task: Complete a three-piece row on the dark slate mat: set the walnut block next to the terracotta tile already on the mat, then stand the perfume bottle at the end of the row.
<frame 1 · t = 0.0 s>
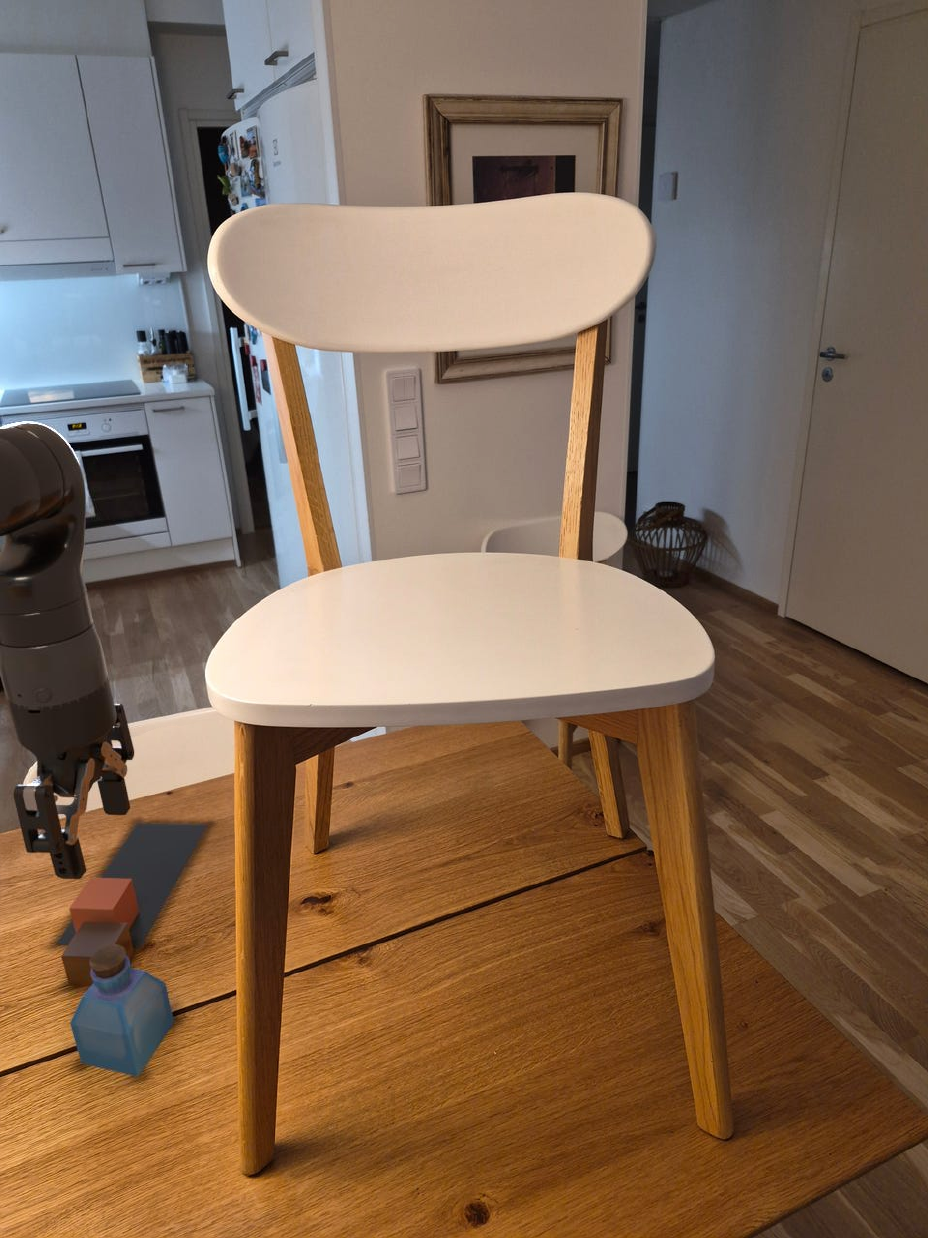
hand: (96, 843, 72), 25 cm above the table, tool pointing down, fingers open, 8 cm apart
walnut block: (103, 973, 90), on the table
mat: (139, 884, 103), on the table
perfume bottle: (130, 1049, 82), on the table
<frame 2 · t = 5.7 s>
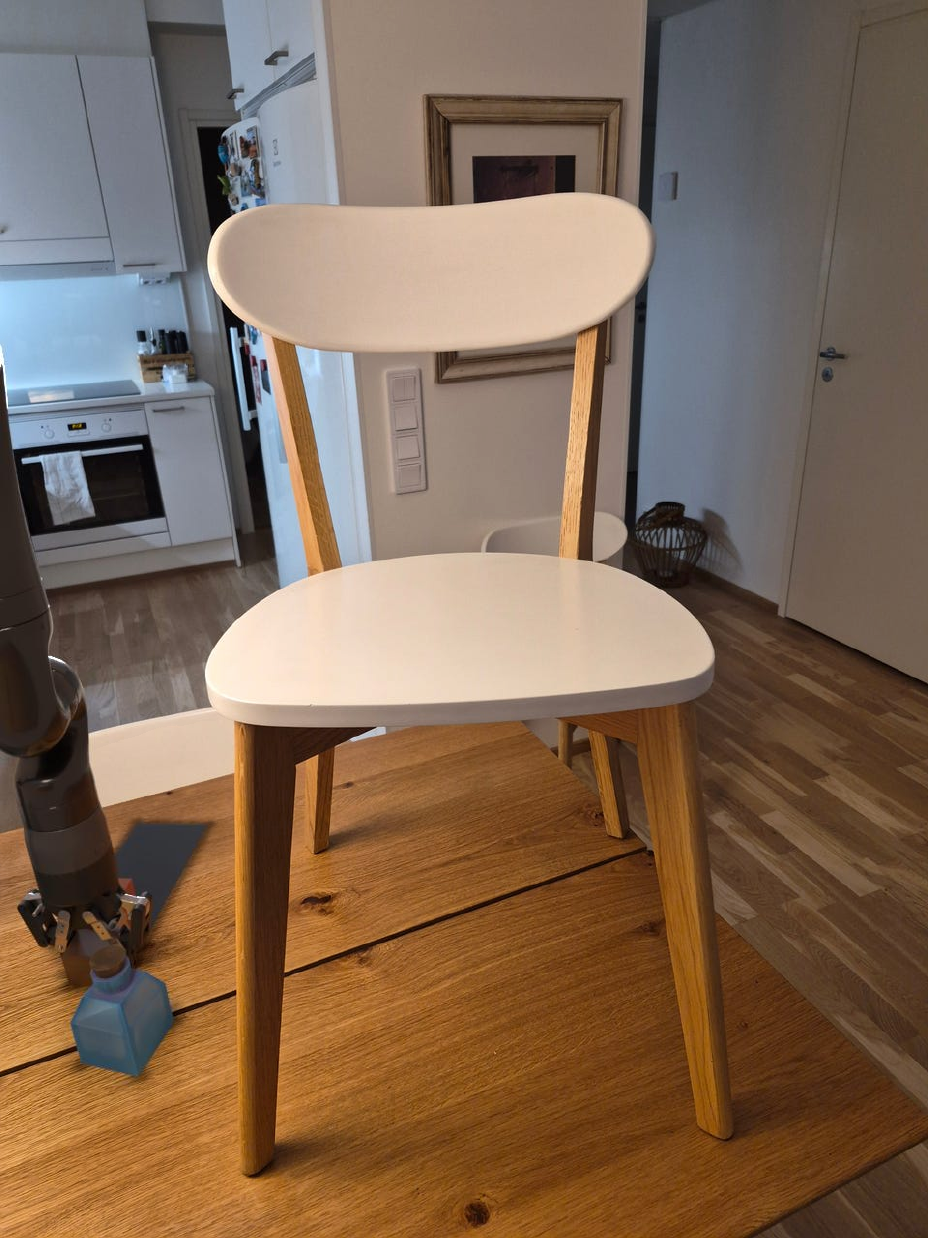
hand: (102, 970, 90), 0 cm above the table, tool pointing down, fingers closed on walnut block, 5 cm apart
walnut block: (103, 973, 90), on the table, touching gripper
everything else where it was.
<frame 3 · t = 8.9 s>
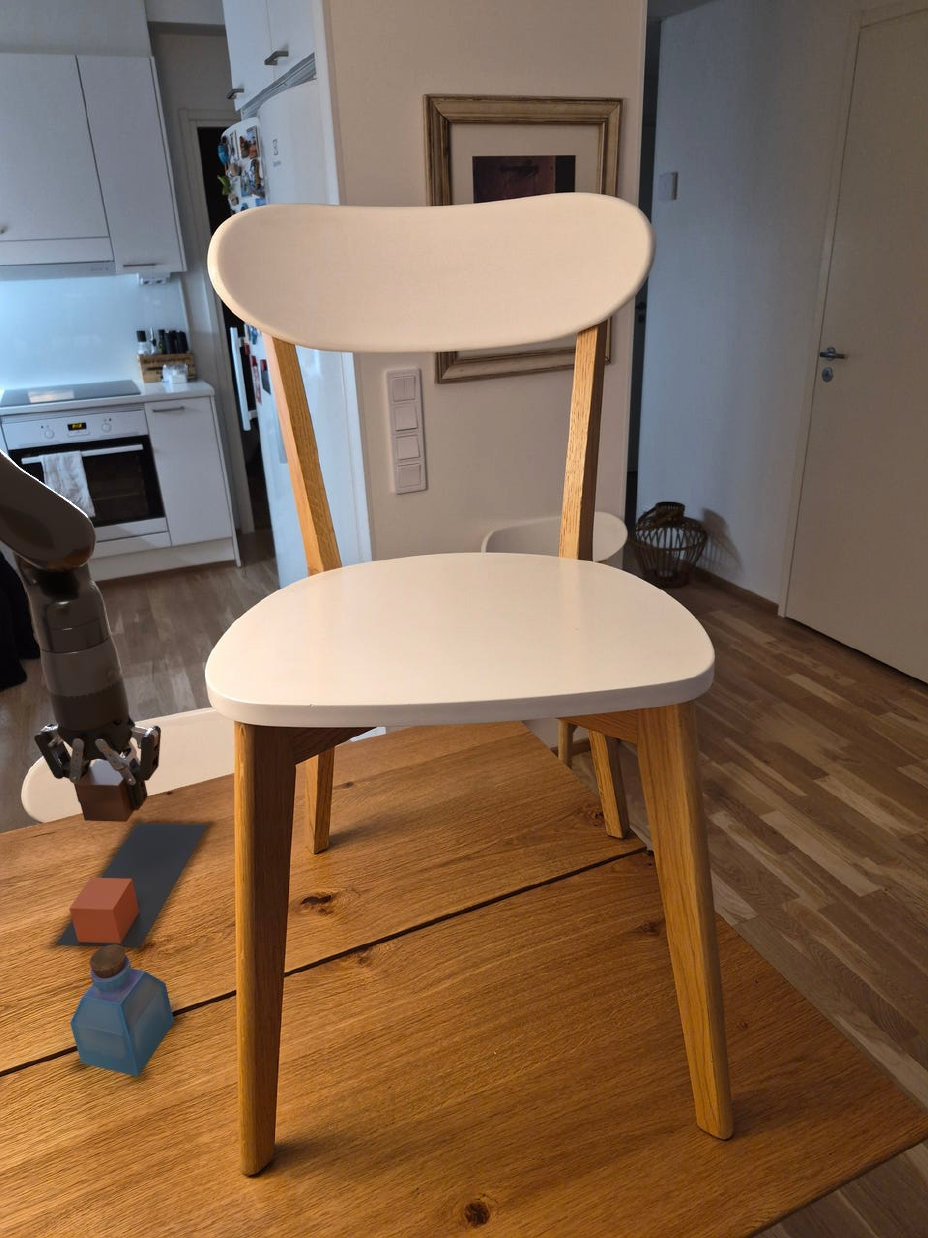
hand: (114, 805, 96), 14 cm above the table, tool pointing down, fingers closed on walnut block, 5 cm apart
walnut block: (115, 808, 96), point 13 cm above the table, touching gripper
everything else where it was.
when the fingers open (1 cm above the table, at t = 12.2 s): walnut block stays where it is, resting on mat.
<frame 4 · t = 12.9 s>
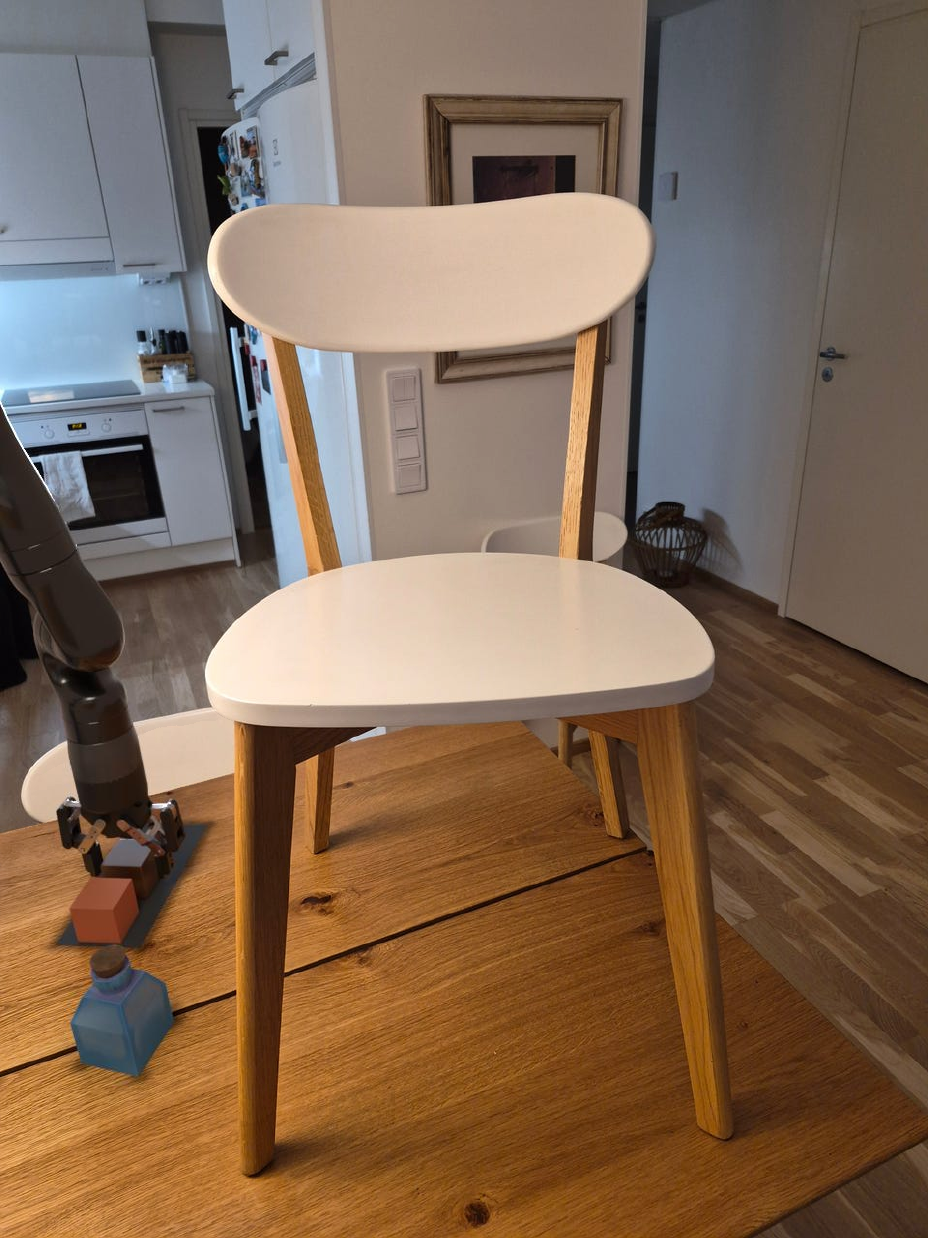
hand: (131, 873, 101), 3 cm above the table, tool pointing down, fingers open, 8 cm apart
walnut block: (136, 884, 102), point 1 cm above the table, touching mat
everything else where it was.
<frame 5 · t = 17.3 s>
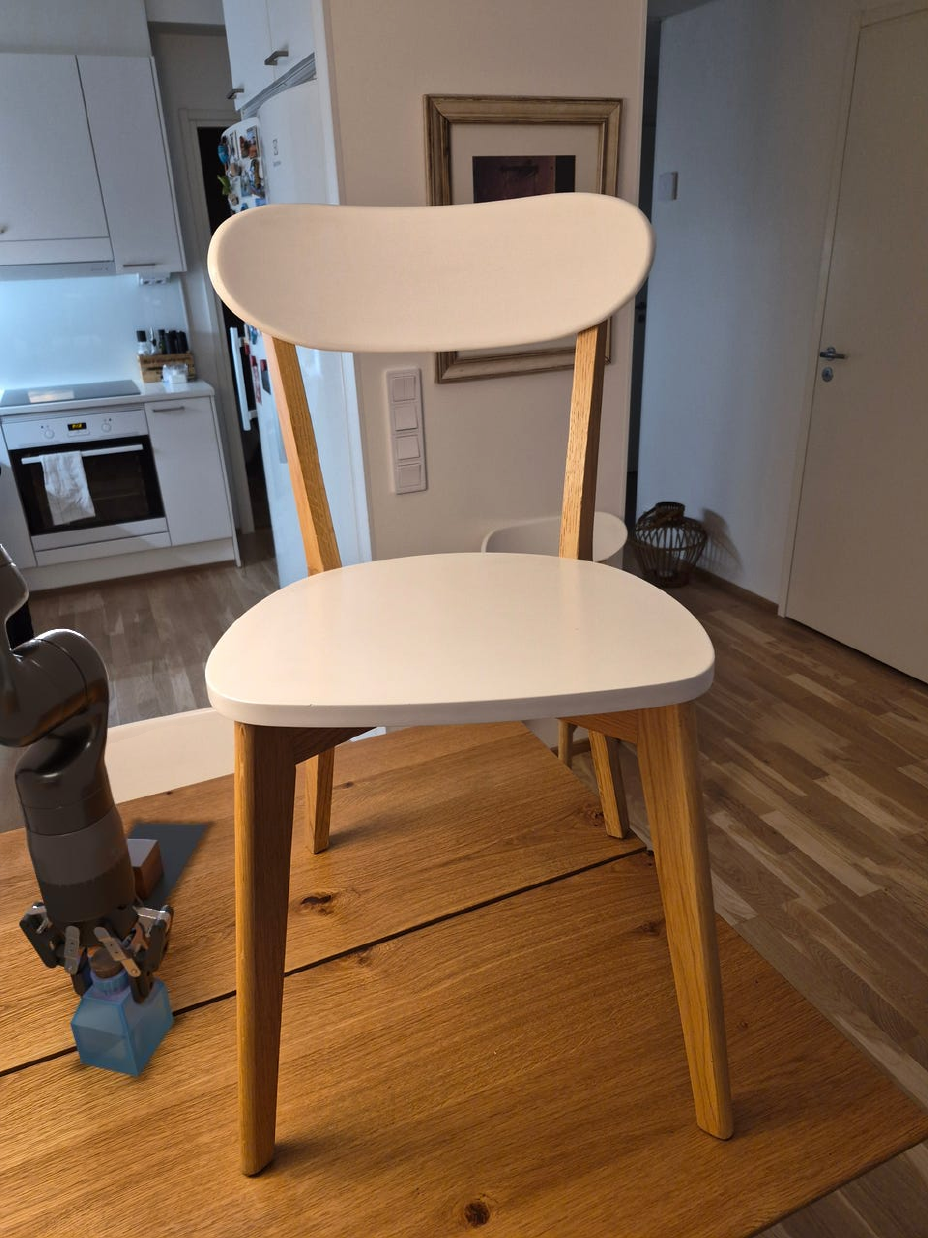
hand: (116, 994, 79), 7 cm above the table, tool pointing down, fingers closed on perfume bottle, 4 cm apart
perfume bottle: (130, 1049, 82), on the table, touching gripper
everything else where it was.
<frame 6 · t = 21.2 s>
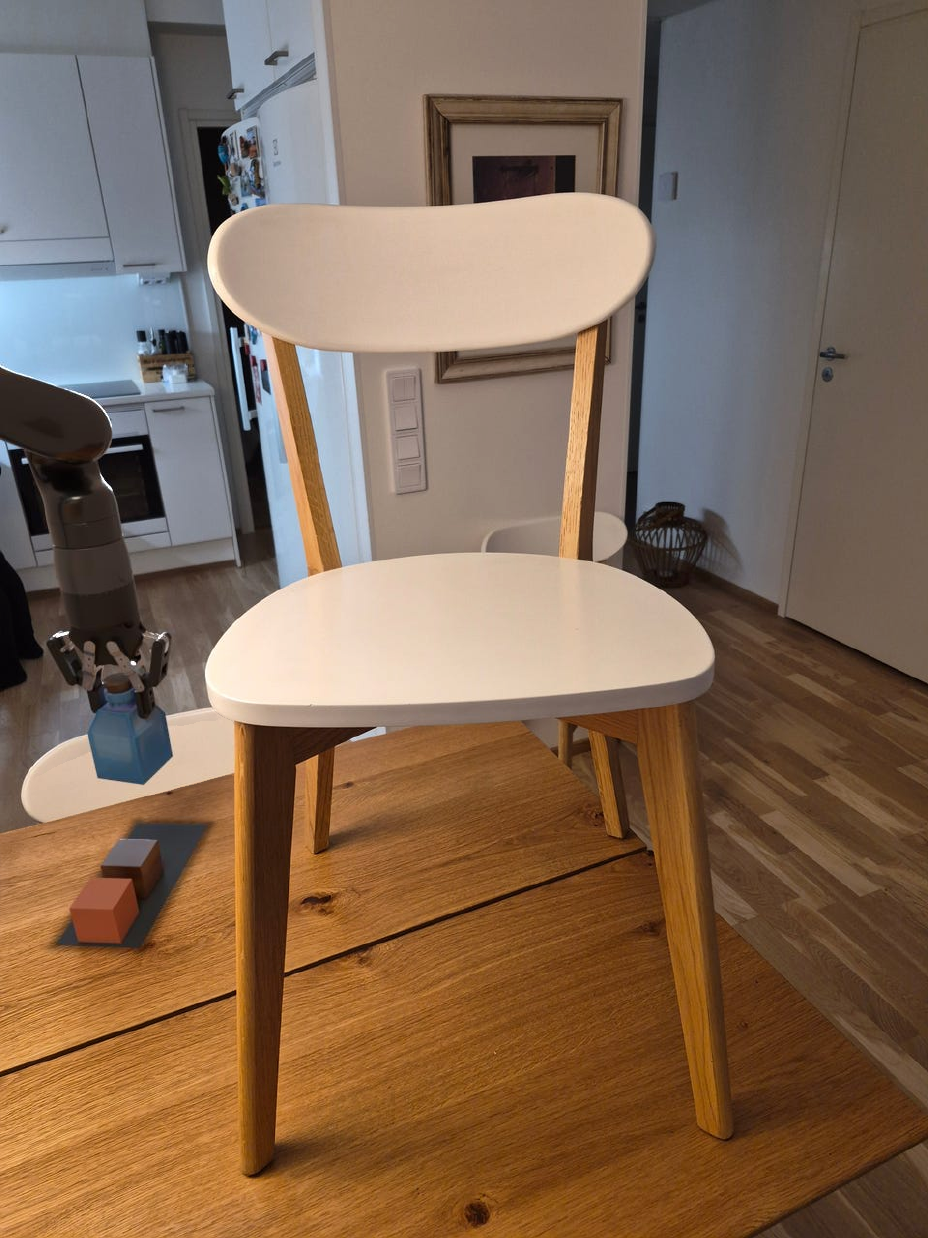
hand: (124, 714, 96), 23 cm above the table, tool pointing down, fingers closed on perfume bottle, 4 cm apart
perfume bottle: (136, 768, 99), point 16 cm above the table, touching gripper
everything else where it was.
when the fingers open (8 cm above the table, at t = 25.3 s): perfume bottle stays where it is, resting on mat.
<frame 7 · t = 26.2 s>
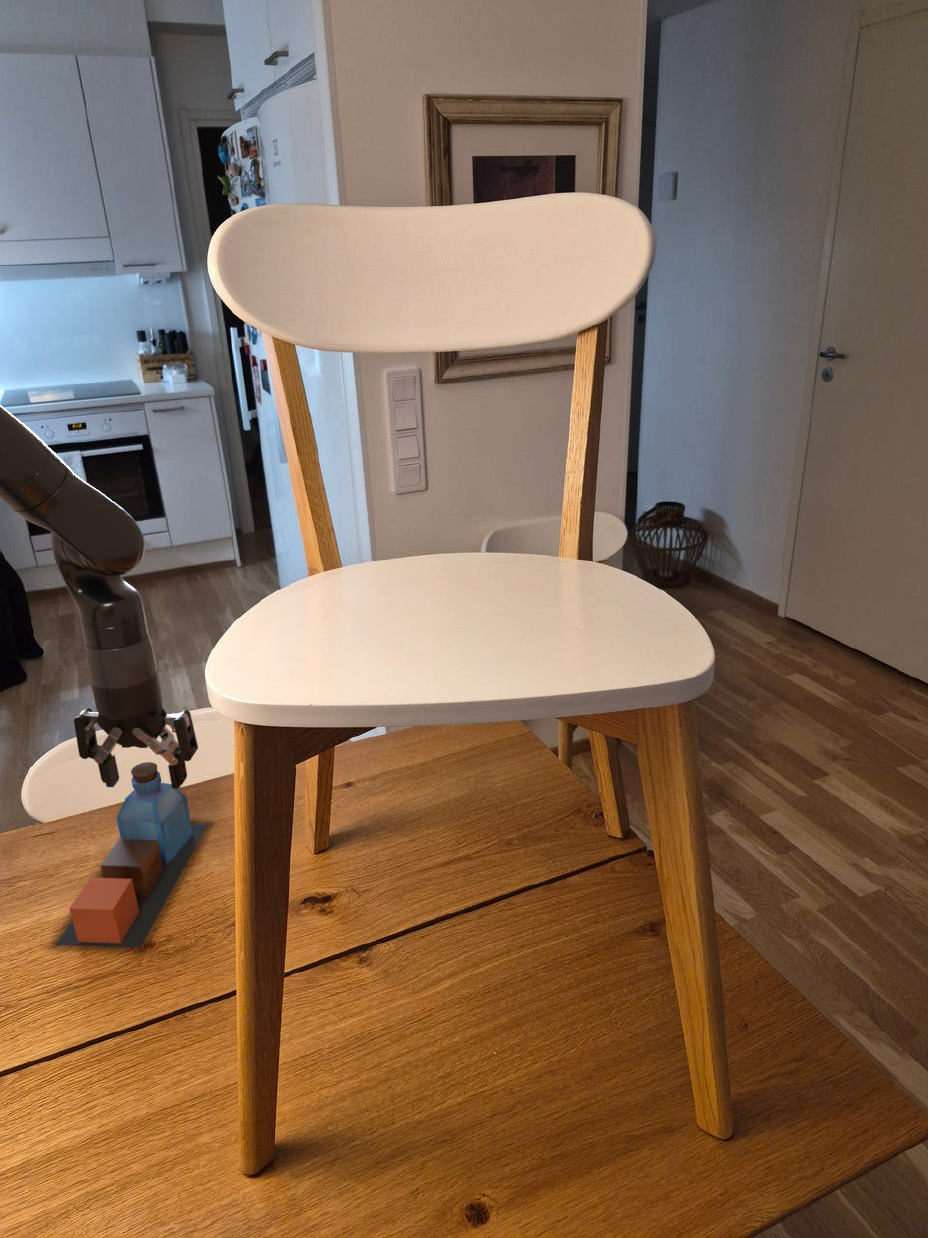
hand: (145, 784, 105), 10 cm above the table, tool pointing down, fingers open, 8 cm apart
perfume bottle: (159, 846, 109), point 1 cm above the table, touching mat
everything else where it was.
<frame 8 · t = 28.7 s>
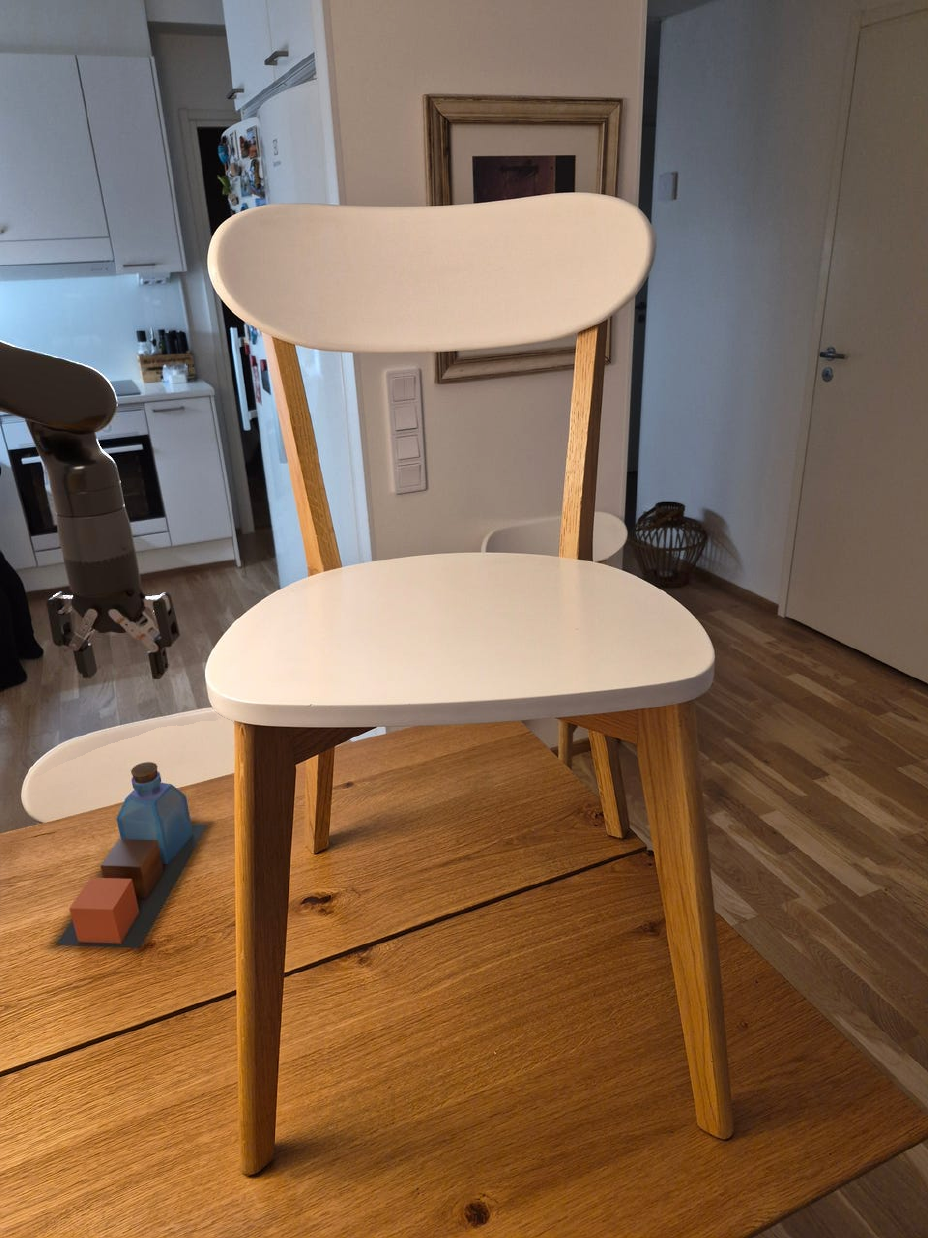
hand: (124, 675, 99), 26 cm above the table, tool pointing down, fingers open, 8 cm apart
nothing on the table moved.
at the end: walnut block 0.2 cm from the target spot on the mat, point 0.8 cm above the mat's base; perfume bottle 0.3 cm from the target spot on the mat, point 0.6 cm above the mat's base; perfume bottle tilted 0° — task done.
